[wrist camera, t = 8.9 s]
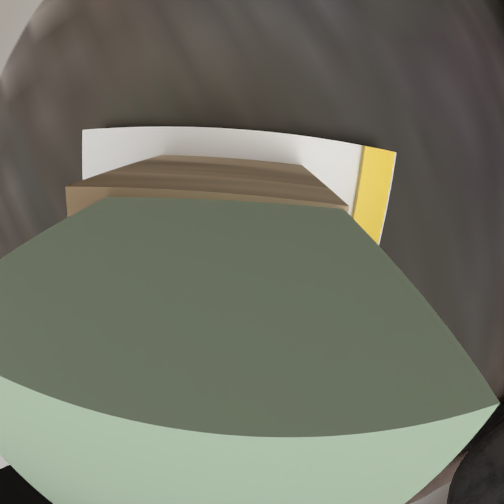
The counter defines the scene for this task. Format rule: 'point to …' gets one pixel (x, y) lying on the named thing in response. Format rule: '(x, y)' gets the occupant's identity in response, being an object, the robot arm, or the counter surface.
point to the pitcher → (482, 466)
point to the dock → (257, 148)
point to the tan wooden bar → (205, 182)
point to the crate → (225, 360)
